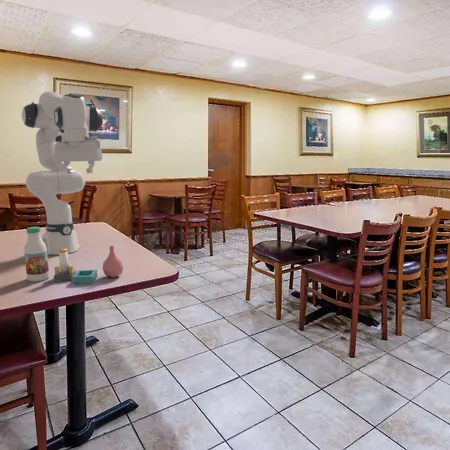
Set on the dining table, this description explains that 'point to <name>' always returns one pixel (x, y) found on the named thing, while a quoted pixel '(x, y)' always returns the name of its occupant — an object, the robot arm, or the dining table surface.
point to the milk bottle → (36, 256)
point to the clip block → (64, 273)
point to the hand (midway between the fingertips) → (79, 173)
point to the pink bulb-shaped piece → (112, 264)
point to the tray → (84, 277)
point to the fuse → (64, 260)
